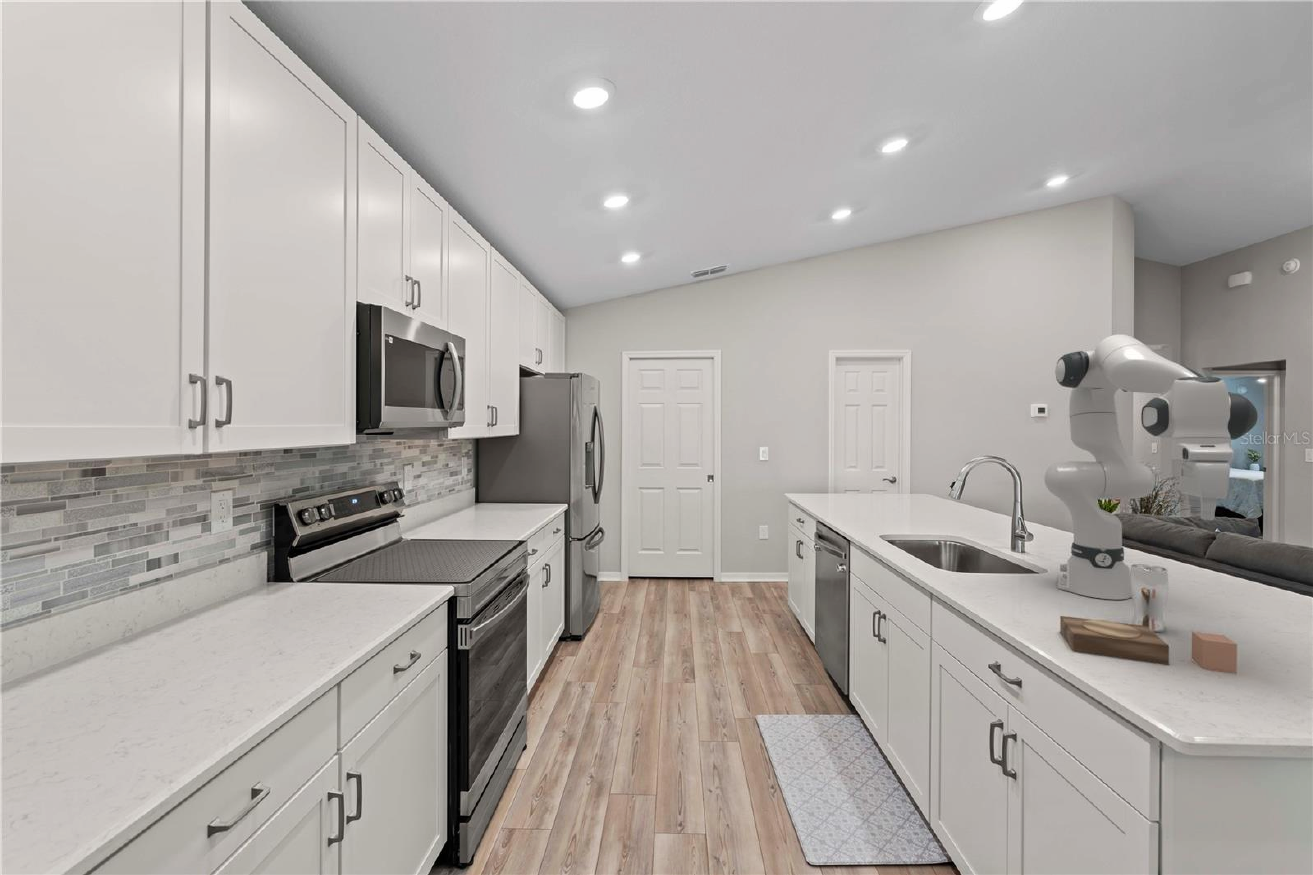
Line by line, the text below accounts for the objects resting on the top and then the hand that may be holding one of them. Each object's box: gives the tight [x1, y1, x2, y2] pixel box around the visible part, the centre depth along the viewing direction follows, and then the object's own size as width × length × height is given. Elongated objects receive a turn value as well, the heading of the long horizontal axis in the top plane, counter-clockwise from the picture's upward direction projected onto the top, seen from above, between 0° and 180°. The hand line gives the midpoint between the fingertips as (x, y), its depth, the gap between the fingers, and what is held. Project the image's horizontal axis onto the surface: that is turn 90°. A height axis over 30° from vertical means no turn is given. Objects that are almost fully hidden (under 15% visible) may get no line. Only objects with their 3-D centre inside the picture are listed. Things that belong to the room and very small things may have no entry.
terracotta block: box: [1191, 631, 1238, 674], centre depth 110 cm, size 5×5×6 cm
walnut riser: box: [1059, 615, 1170, 665], centre depth 120 cm, size 12×16×4 cm
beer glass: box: [1130, 563, 1169, 633], centre depth 131 cm, size 7×7×15 cm
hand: (1201, 517), depth 112 cm, fingers open, 8 cm apart
